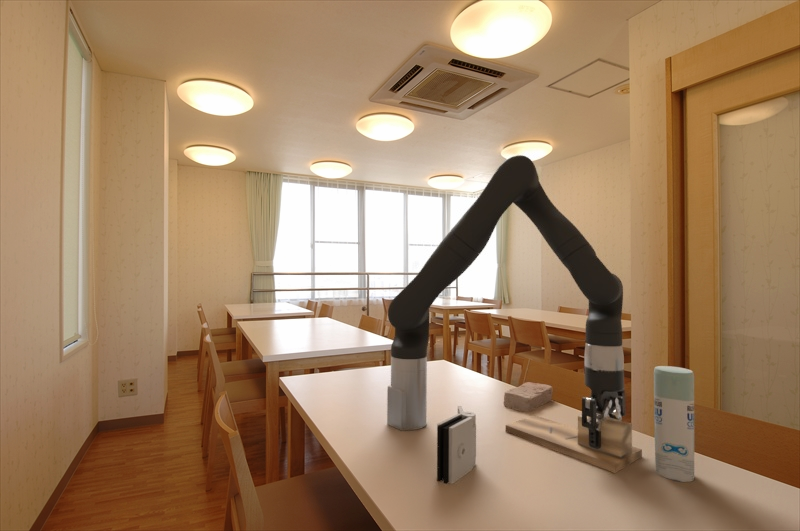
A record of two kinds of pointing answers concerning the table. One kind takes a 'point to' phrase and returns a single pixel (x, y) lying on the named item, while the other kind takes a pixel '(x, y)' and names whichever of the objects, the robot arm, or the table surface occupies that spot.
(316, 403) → the table surface
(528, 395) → the brick
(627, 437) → the block
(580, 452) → the board
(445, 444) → the hinge
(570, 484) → the table surface
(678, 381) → the spray paint can
